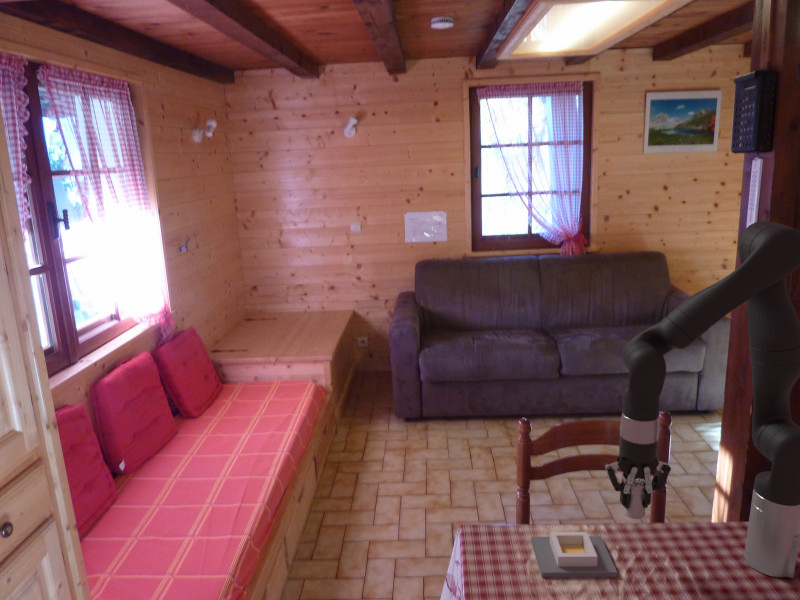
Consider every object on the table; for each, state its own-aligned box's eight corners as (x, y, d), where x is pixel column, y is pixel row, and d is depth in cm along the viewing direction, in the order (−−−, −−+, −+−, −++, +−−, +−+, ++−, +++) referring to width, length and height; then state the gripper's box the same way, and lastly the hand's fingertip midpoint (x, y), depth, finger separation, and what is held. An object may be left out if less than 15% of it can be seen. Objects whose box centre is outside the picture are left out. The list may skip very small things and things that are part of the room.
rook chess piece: (647, 520, 127) (649, 487, 124) (625, 519, 127) (626, 486, 125) (643, 508, 131) (645, 476, 129) (621, 507, 132) (623, 474, 130)
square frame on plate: (600, 540, 138) (601, 526, 137) (617, 576, 127) (618, 562, 126) (531, 541, 139) (531, 527, 138) (541, 577, 127) (542, 562, 126)
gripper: (610, 443, 121) (607, 517, 125) (681, 441, 120) (675, 515, 125) (599, 426, 128) (596, 496, 133) (666, 424, 128) (661, 495, 132)
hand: (634, 505), depth 129 cm, fingers closed on rook chess piece, 3 cm apart
